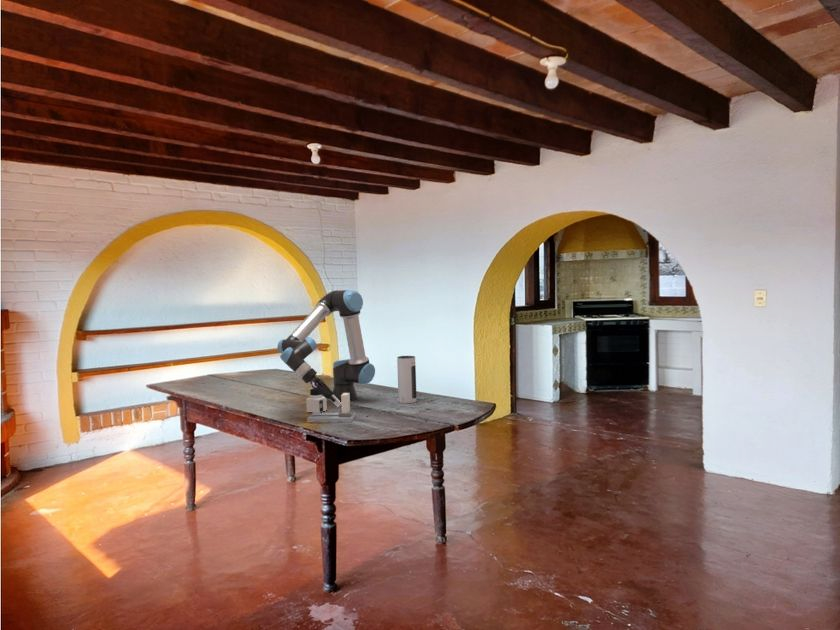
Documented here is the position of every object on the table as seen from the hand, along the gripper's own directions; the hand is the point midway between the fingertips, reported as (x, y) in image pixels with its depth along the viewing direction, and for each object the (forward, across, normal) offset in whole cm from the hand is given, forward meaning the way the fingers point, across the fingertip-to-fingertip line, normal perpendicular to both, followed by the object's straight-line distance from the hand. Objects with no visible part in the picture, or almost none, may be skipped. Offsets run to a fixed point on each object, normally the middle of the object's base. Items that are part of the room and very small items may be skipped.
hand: (340, 405), depth 295 cm
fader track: (+2, 0, -8) cm, 8 cm away
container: (-7, -17, -17) cm, 25 cm away
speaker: (+26, -40, +16) cm, 50 cm away
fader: (+5, 0, -1) cm, 5 cm away
